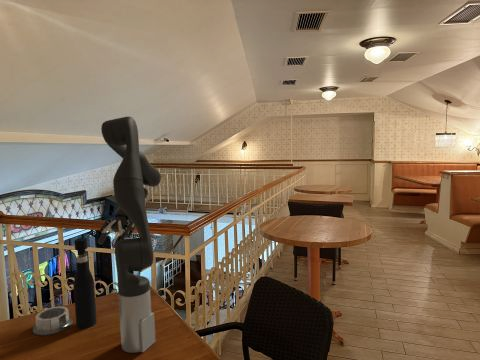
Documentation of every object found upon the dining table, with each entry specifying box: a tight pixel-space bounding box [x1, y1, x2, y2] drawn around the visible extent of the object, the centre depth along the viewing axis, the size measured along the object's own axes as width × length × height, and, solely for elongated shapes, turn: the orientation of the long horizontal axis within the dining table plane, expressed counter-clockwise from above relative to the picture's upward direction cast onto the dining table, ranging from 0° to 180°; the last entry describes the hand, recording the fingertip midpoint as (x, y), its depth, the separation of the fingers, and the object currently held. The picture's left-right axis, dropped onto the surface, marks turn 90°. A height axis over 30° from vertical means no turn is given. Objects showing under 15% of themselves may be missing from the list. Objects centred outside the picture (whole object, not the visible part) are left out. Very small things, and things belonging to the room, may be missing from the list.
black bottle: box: [73, 237, 98, 330], centre depth 114 cm, size 6×6×30 cm
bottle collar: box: [32, 305, 74, 337], centre depth 114 cm, size 12×12×5 cm
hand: (107, 244), depth 123 cm, fingers open, 8 cm apart
